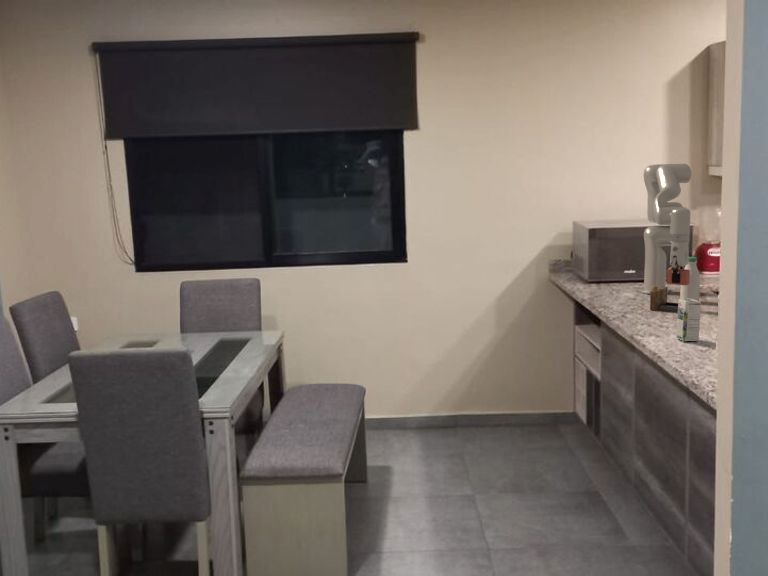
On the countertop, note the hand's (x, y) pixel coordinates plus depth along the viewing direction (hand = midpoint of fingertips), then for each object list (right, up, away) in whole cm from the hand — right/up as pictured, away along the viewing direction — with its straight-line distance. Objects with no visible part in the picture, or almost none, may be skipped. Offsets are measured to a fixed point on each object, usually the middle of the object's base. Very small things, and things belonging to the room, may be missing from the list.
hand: (677, 281), depth 315 cm
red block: (0, -1, 0) cm, 1 cm away
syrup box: (-16, -21, -50) cm, 57 cm away
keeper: (0, -12, +2) cm, 12 cm away
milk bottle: (+12, -9, +17) cm, 23 cm away
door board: (-6, -11, +7) cm, 14 cm away
